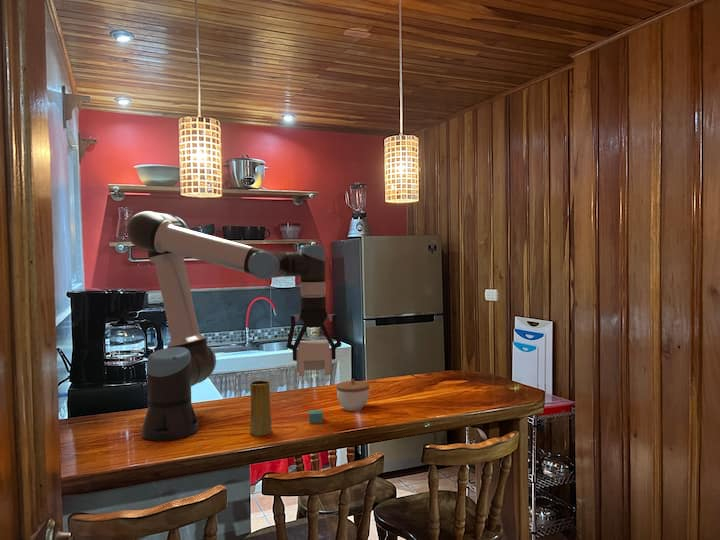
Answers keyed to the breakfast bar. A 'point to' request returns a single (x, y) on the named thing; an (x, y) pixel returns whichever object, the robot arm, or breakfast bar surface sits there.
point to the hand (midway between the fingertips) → (314, 370)
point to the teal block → (315, 416)
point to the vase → (260, 408)
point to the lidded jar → (352, 394)
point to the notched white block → (314, 356)
